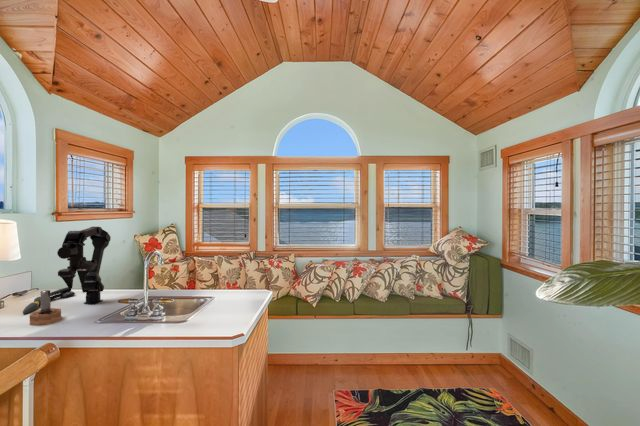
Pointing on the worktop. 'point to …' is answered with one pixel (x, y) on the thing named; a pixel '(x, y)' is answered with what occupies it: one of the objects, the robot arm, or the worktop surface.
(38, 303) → the paintbrush
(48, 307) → the brushed steel cylinder
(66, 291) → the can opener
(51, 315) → the bead
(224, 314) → the worktop surface
